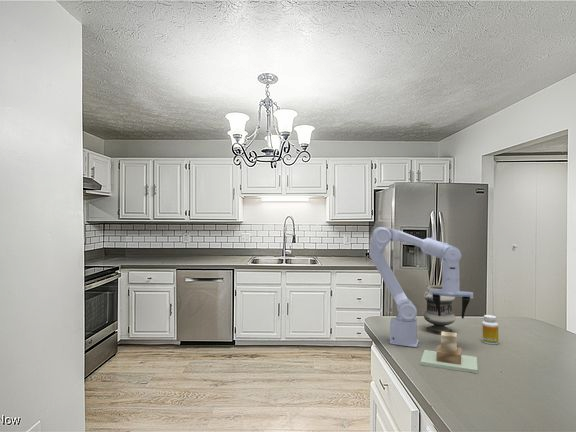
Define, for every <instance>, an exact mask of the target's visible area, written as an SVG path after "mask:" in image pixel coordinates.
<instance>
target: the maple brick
mask: <svg viewBox="0 0 576 432" xmlns="http://www.w3.org/2000/svg"><path fill="white" fill-rule="evenodd" d="M457 339H458V333H457V332H453V331H452V332H443V331H442V332H441V334H440V345H441V351H445V352H452V353H457V348H458V347H457V346H458V340H457Z"/></svg>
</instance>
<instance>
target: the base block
mask: <svg viewBox="0 0 576 432" xmlns="http://www.w3.org/2000/svg"><path fill="white" fill-rule="evenodd" d="M436 351H437V361H439V362H446V363H452V364H459V365H461V355H462V347H457V353H452V352H445V351H441V344H440V345H439V344H438V345H437V348H436Z"/></svg>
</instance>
